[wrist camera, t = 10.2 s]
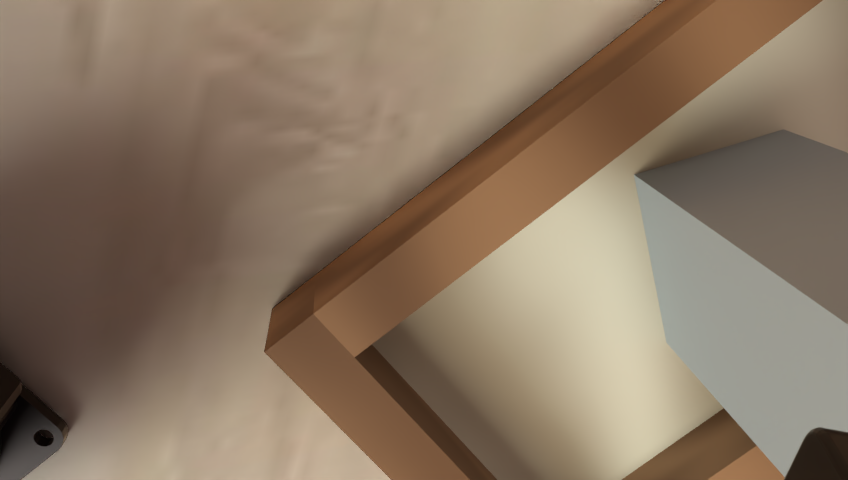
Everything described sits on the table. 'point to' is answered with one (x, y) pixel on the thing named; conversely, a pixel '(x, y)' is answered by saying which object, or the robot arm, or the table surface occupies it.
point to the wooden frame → (561, 267)
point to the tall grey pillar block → (757, 281)
